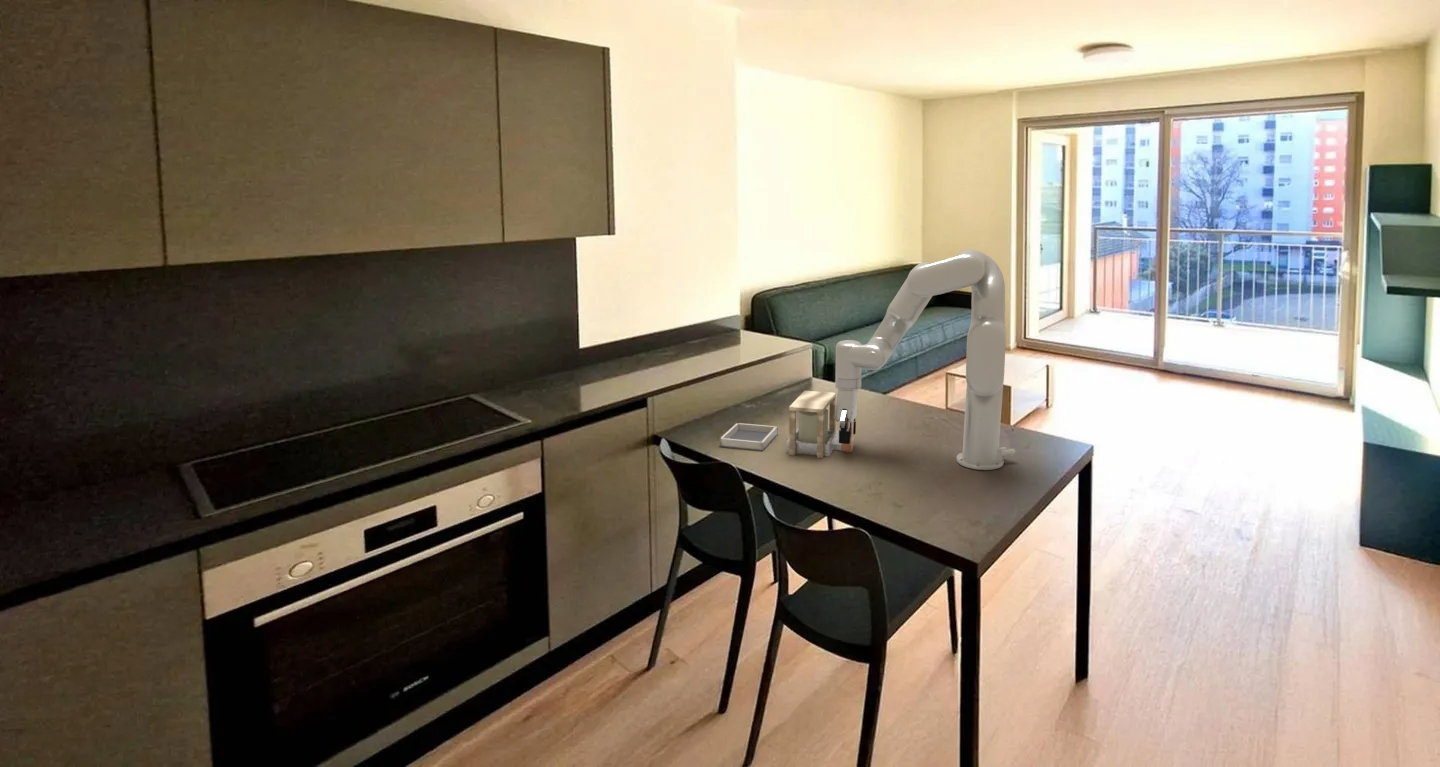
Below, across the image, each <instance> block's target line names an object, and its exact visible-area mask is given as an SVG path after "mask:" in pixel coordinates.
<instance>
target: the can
mask: <svg viewBox="0 0 1440 767" xmlns="http://www.w3.org/2000/svg"><path fill="white" fill-rule="evenodd" d="M797 416H798V417H797V418H798V421H797V422H798V425H797V428H798V427H799V440H798V441H801V442H812V443H817V412H807V411H797ZM828 430H829V410H828V409H827V408H826V409H825V410H824V444H827V442H828Z"/></svg>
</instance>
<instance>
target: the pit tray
mask: <svg viewBox="0 0 1440 767" xmlns="http://www.w3.org/2000/svg"><path fill="white" fill-rule="evenodd" d="M778 435H779V426H776V425H764V424H754V423H753V424H752V423H743V422H742V423H741V422H739V423H738V422H736V423H735V424H734V425H733V426H732V427H731V428H729V430H727V431H726V432H725V433H724V434H723V435H722V436H720V438H719V447H720V448H728V449H737V450H746V451H747V450H748V451H757V452H764V451H765V450H766V449H767V448H768V446H769V445H770V444H771V443H772V442H773V440H774V439H775V438H776V437H777V436H778Z"/></svg>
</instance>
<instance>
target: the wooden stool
mask: <svg viewBox="0 0 1440 767" xmlns="http://www.w3.org/2000/svg"><path fill="white" fill-rule="evenodd" d="M836 403H837V393H836V392H831V391H830V392H828V391H815V390H803V392H802V393H801V394H800V395H799V396H797V398H796V399H795V400H794V401H793V402H792V403H791V404H790V405H789V407H788V419H789V420H788V421H789V422H788V424H789V425H788V427H789V428H788V429H789V430H788V432H789V433H788V434H789V435H788V436H789V437H788V439H789V452H788V453H789V456H796V455H797V453H796V429H797V412H798V411H807V412H817V455H816V458H817V459H824V457H825V456H824V410H825V409H827V408H828V406H829V411H828V430H837V429H836V427H837V426H836V424H837V423H836V422H837V421H836Z"/></svg>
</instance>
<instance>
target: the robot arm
mask: <svg viewBox="0 0 1440 767" xmlns="http://www.w3.org/2000/svg"><path fill="white" fill-rule="evenodd" d="M1004 278H1005V277H1004V274H1003V272H1002V270H1001V268H1000V267H999V264H998V263H996V261H995V260H994V259H993V258H992V257H990V256H989V255H987V254H986V253H984V252H982V251H979V250H976V249H965V250H963V251H961V252H959V253H958V254H957V255H956V256H952V257H949V258H946V259H943V260H939V261H935V262H932V263H931V262H929V261H927V262H926V261H925V262H920V263H918V264H916V265H915V266H914V267H913V268H912V269H911V270H910V271H909V273H908V275H907V278H906V279H905V280H904V282H903V284H902V285H901V286H900V289H899V290H898V291H897V293H896V295H895V296H894V297H893V300H892V301H891V302H890V303H889V305H888V307H887V309H886V313H885V316H884V318H883V319H882V321H881V322H880V324H879V326H878V328H877V329H876V331H875V332H874V334H873V335H872V336H871V338H870V340H869V341H868V342H867V343H866V344H862V343H861V342H860V341H857V340H854V339H846V340H845V339H844V340H840V341H838V342H837V343H836V345H835V383H834V384H835V385H834V386H835V388H836V389H837V393H836V422H837V423H839V426H838V430H839V443H842V444H849V443H850V431H849V427H850V423H851V422H852V421H853V420H854V423H853V435H856V428H857V427H856V426H857V424H856V423H857V421H856V420H857V419H856V418H857V417H856V416H858V415H857V414H858V409H859V408H858V405H859V404H858V400H859V396H858V395H859V394H858V393H859V391H858V390H860V389H862V369H865V370H871V371H872V370H873V371H876V370H877V371H878V370H880V369H881V368H882V367H884V366H885V365H886V363H887V362H888V360H889V359H890V357H891V356H892V354H893V353H894V351H895V349H896V348H897V346H898V344H900V342H901V340H902V339H903V338H904V336H905V335H906V333H907V331H909V329H911V328H912V326H913V325H914V324H915V323H916V322H917V320H918V319H919V317H920V316H921V314H922V313H923V311H924V310H925V308H926V307H927V305H928V303H929V302H930V300H931V299H932V297H933V296H938V295H942V294H943V295H944V294H946V293H950V292H953V291H956V290H962V289H966V288H969V287H970V288H971V314H970V315H971V316H970V324H969V329H968V332H967V336H966V355H965V356H966V358H965V360H966V361H965V382H966V391H965V408H964V422H963V438H962V439H963V441H962V452H960V453H958V454H957V455H956V463H957V464H959V465H961V467H964V468H968V469H972V470H978V471H979V470H980V471H990V470H991V471H992V470H998V469H1000V468H1002V467H1003V466H1004V459H1003V458H1005V457H1006V456H1007V457H1008V456H1009V457H1010V456H1011V457H1013V456H1016V450H1015V448H1007V447H1006V446H1002V447H1001V446H1000V434H1001V421H1002V420H1001V419H1002V409H1003V408H1002V406H1003V395H1004V394H1003V391H1004V381H1005V380H1004V379H1005V365H1006V343H1007V342H1006V341H1007V331H1006V330H1007V329H1006V321H1005V320H1006V318H1005V317H1006V285H1005V284H1006V283H1005V279H1004ZM846 419H847V420H848V421H847V420H846ZM845 423H847V425H846V424H845Z"/></svg>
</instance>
